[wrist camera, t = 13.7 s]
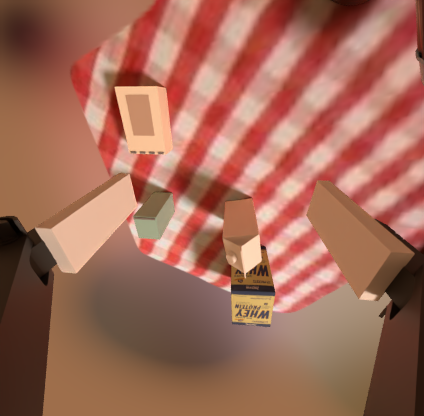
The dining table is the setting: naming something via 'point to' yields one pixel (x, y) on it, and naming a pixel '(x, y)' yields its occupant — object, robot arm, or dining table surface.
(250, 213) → the milk carton
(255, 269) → the protein box
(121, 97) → the block
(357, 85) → the dining table surface
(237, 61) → the dining table surface
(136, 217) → the pale green block
